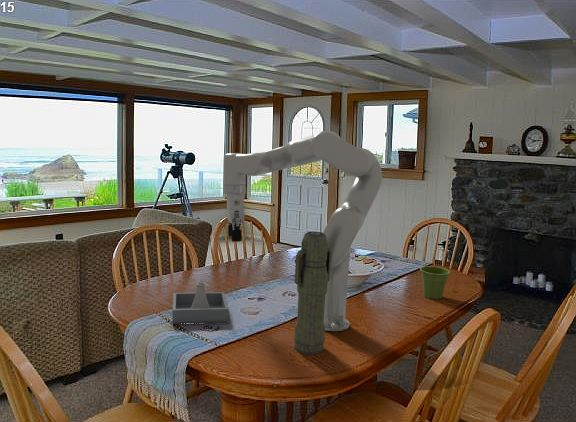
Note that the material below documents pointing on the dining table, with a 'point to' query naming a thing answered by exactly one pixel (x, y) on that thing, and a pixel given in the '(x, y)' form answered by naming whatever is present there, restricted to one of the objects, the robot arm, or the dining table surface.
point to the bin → (203, 315)
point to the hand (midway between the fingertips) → (234, 238)
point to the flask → (200, 297)
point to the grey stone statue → (311, 292)
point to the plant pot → (434, 281)
